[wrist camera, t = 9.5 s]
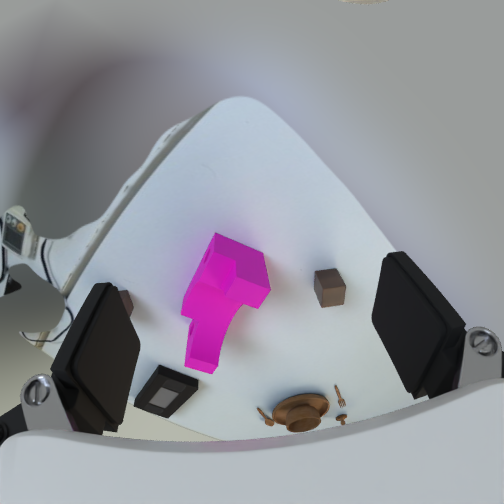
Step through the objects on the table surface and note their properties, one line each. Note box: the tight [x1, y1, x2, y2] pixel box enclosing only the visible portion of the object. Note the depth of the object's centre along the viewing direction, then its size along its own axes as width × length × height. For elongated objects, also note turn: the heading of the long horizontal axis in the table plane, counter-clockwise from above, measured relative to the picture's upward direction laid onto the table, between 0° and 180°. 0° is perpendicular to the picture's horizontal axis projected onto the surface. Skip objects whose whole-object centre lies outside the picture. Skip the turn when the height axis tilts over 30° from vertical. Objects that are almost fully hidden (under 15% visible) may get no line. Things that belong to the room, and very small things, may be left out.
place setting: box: [257, 385, 347, 432], centre depth 53 cm, size 18×20×6 cm
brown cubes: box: [119, 269, 346, 318], centre depth 36 cm, size 3×31×4 cm, turn 95°
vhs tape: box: [134, 365, 199, 418], centre depth 47 cm, size 8×14×2 cm, turn 146°
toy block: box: [181, 233, 271, 374], centre depth 34 cm, size 15×6×8 cm, turn 152°
